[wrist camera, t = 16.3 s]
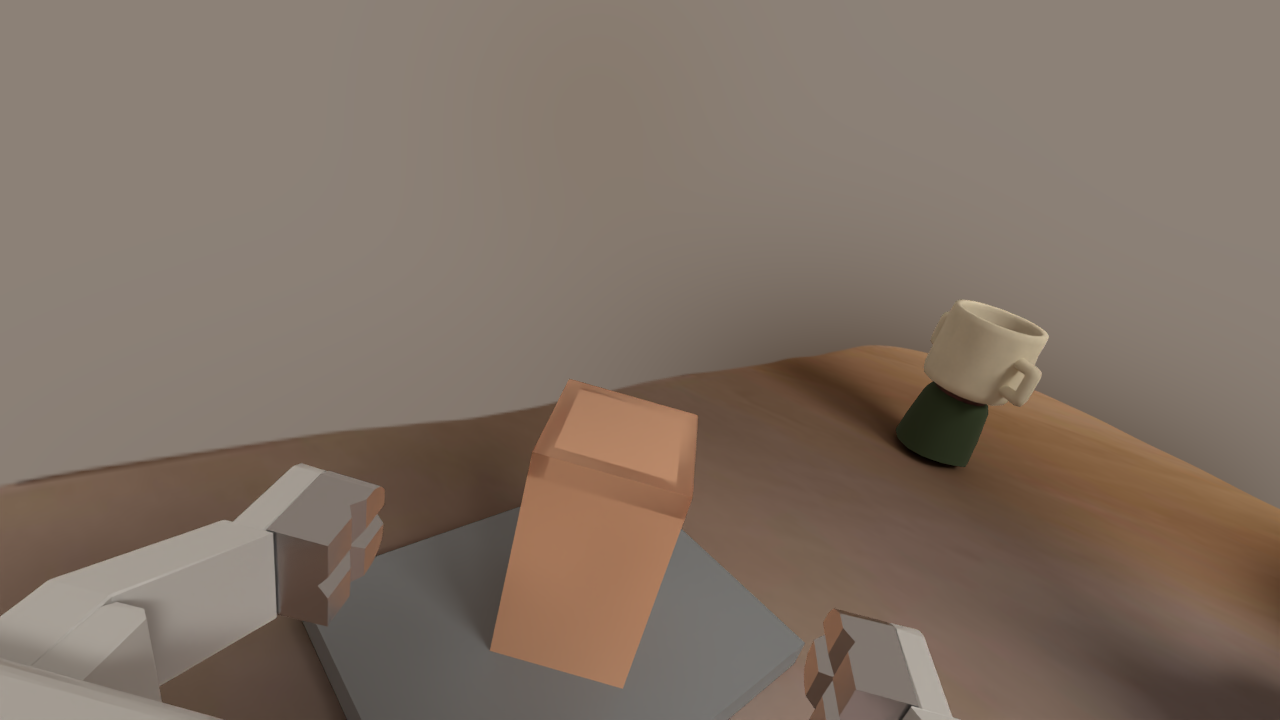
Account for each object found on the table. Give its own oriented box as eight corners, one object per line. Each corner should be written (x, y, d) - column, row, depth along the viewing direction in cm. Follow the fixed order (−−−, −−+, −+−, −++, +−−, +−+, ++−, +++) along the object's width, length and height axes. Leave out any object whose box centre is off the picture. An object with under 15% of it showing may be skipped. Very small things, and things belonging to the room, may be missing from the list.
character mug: (1003, 494, 51) (1092, 356, 45) (934, 490, 49) (1018, 343, 43) (923, 419, 60) (988, 296, 55) (861, 413, 58) (923, 284, 52)
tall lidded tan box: (528, 554, 30) (569, 378, 26) (639, 586, 30) (698, 415, 26) (489, 650, 25) (532, 451, 21) (622, 688, 25) (692, 497, 21)
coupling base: (614, 491, 39) (651, 365, 35) (793, 663, 30) (868, 524, 27) (296, 608, 26) (299, 435, 23) (453, 952, 18) (499, 770, 14)
